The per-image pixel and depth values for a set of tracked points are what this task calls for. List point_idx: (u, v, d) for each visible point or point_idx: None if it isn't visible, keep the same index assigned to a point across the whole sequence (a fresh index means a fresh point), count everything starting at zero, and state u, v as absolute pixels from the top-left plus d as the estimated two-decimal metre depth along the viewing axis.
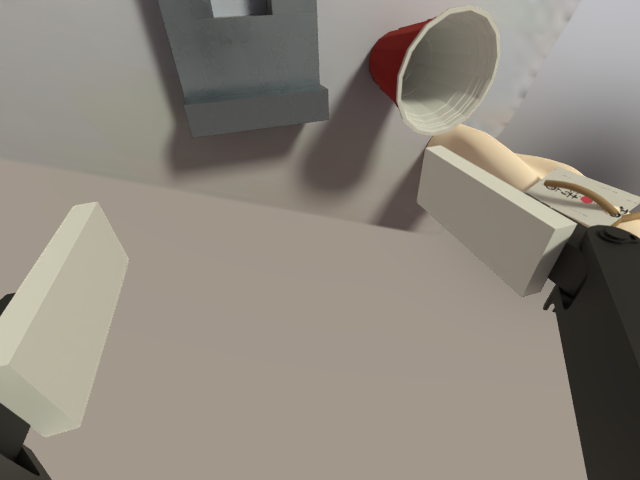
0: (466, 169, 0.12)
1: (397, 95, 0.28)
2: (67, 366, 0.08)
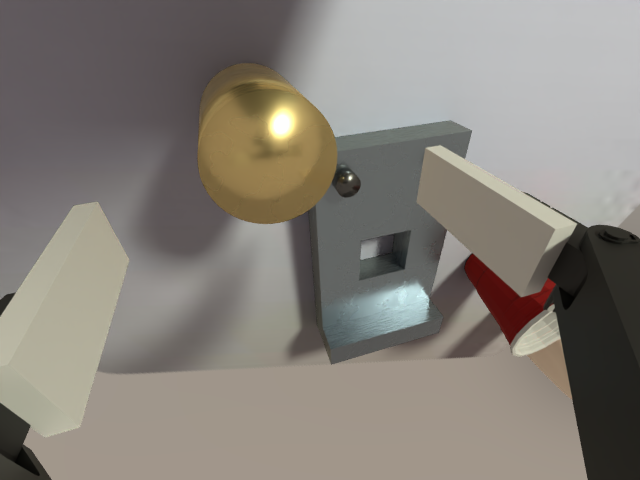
0: (466, 169, 0.12)
1: (513, 345, 0.34)
2: (67, 366, 0.08)
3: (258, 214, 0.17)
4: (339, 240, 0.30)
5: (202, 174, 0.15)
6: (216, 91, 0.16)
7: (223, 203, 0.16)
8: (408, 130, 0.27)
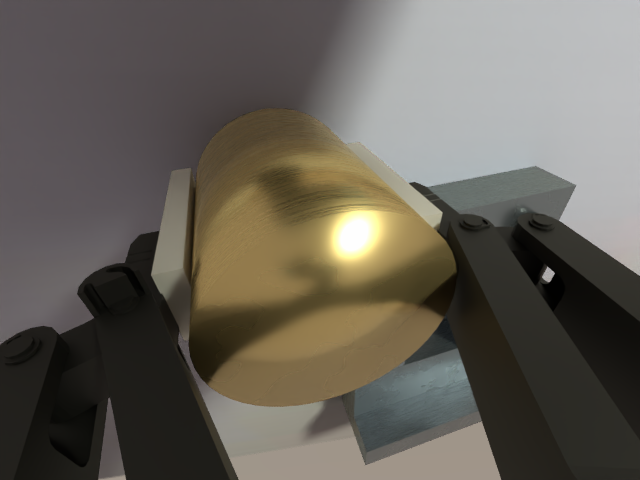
0: (371, 164, 0.12)
1: None
2: None
3: (301, 395, 0.09)
4: None
5: (199, 364, 0.07)
6: (226, 178, 0.09)
7: (240, 394, 0.08)
8: (484, 182, 0.20)
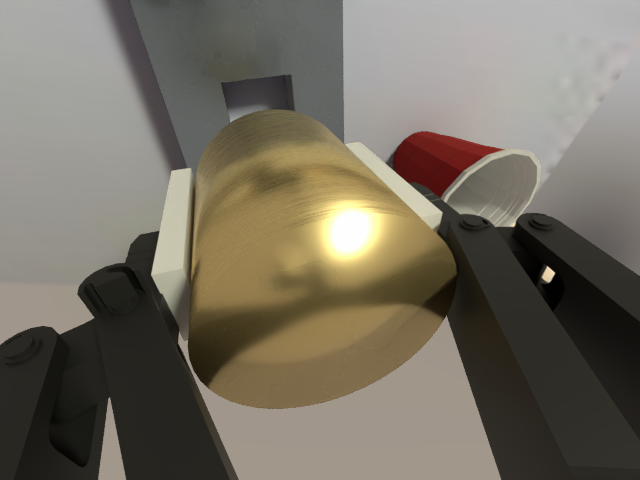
0: (371, 164, 0.12)
1: None
2: None
3: (301, 397, 0.09)
4: (187, 78, 0.23)
5: (198, 367, 0.07)
6: (225, 179, 0.09)
7: (239, 396, 0.08)
8: None
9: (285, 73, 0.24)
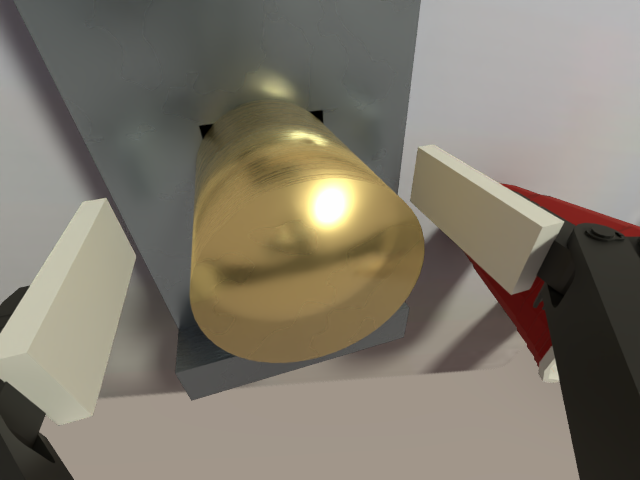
0: (457, 168, 0.12)
1: (546, 363, 0.16)
2: (80, 357, 0.08)
3: (289, 352, 0.10)
4: (135, 118, 0.12)
5: (199, 315, 0.08)
6: (222, 158, 0.10)
7: (234, 347, 0.09)
8: None
9: (313, 108, 0.14)
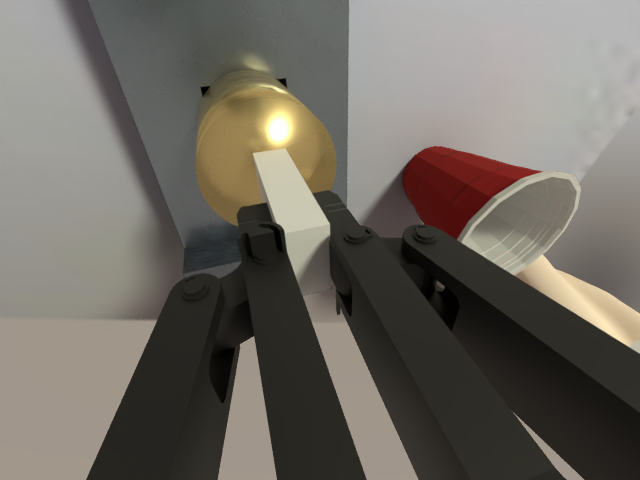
0: (284, 172, 0.12)
1: None
2: None
3: None
4: (158, 80, 0.19)
5: (200, 182, 0.15)
6: (214, 99, 0.16)
7: (222, 211, 0.16)
8: None
9: (279, 77, 0.20)
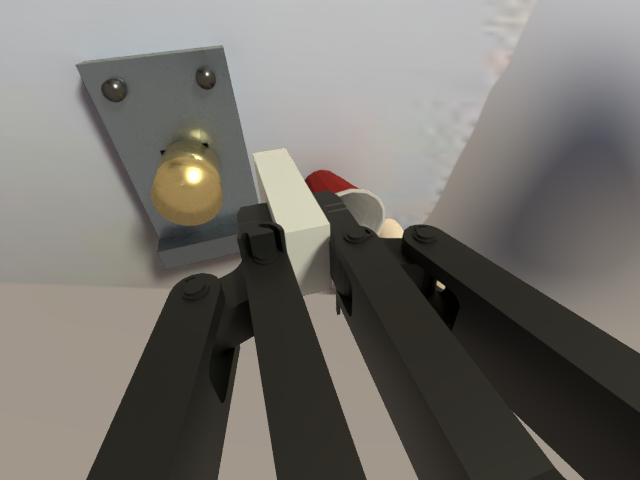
0: (284, 172, 0.12)
1: None
2: None
3: (185, 221, 0.34)
4: (137, 149, 0.36)
5: (154, 203, 0.32)
6: (162, 162, 0.33)
7: (166, 216, 0.33)
8: (177, 51, 0.34)
9: (203, 142, 0.37)
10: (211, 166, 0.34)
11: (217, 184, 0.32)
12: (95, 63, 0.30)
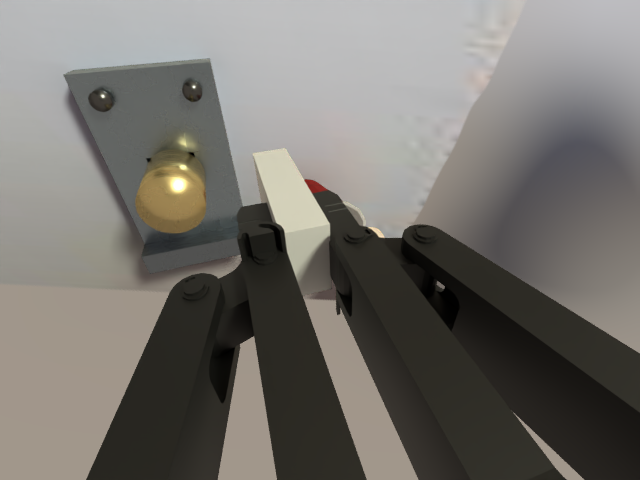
0: (284, 172, 0.12)
1: None
2: None
3: (169, 229, 0.35)
4: (123, 156, 0.36)
5: (138, 211, 0.33)
6: (147, 171, 0.34)
7: (150, 224, 0.34)
8: (165, 63, 0.34)
9: (189, 151, 0.38)
10: (195, 176, 0.35)
11: (200, 194, 0.33)
12: (83, 73, 0.31)
